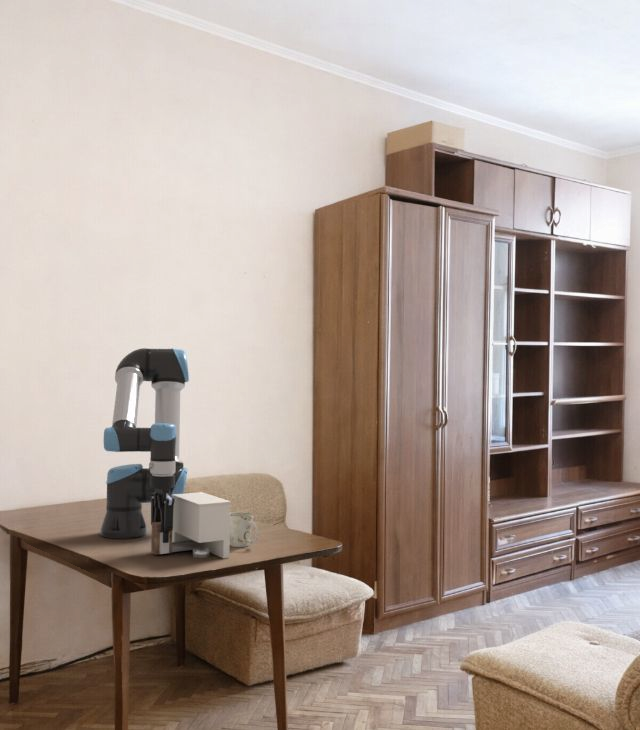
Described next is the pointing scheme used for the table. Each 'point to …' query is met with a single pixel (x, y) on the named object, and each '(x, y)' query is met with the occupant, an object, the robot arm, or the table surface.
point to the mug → (242, 529)
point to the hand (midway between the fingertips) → (161, 551)
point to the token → (201, 552)
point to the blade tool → (172, 545)
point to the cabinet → (202, 521)
